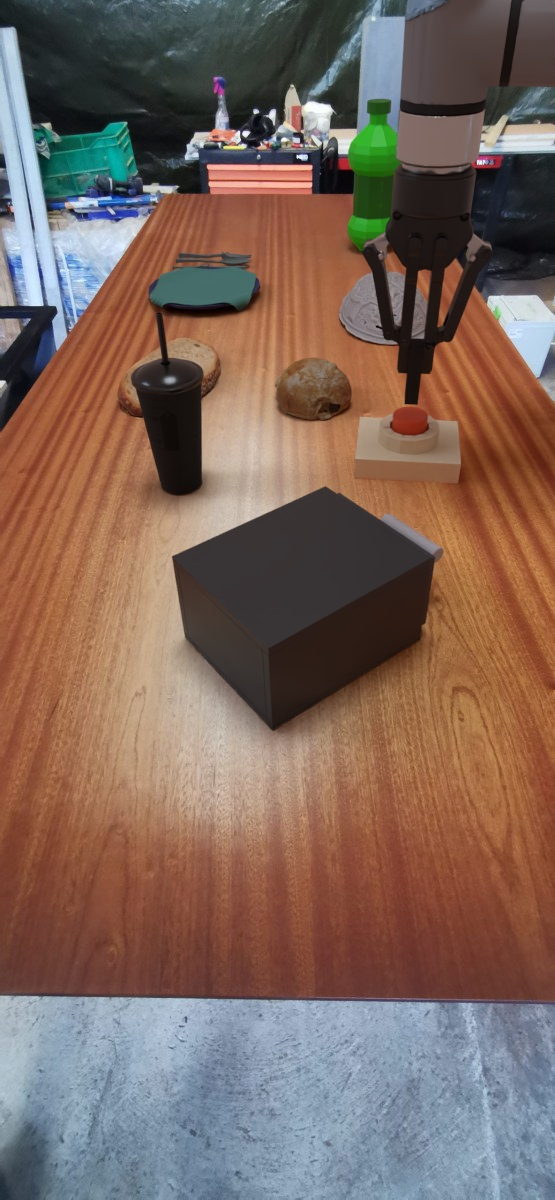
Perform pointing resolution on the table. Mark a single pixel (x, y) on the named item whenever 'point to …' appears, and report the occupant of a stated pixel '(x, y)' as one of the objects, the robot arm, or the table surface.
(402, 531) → the drawer
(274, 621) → the cabinet
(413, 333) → the grey ornate dome
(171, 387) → the drinking cup
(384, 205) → the plastic bottle
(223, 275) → the cutlery set
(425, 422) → the button
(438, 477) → the control block
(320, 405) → the bread roll
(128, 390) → the slice of bread
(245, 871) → the table surface
